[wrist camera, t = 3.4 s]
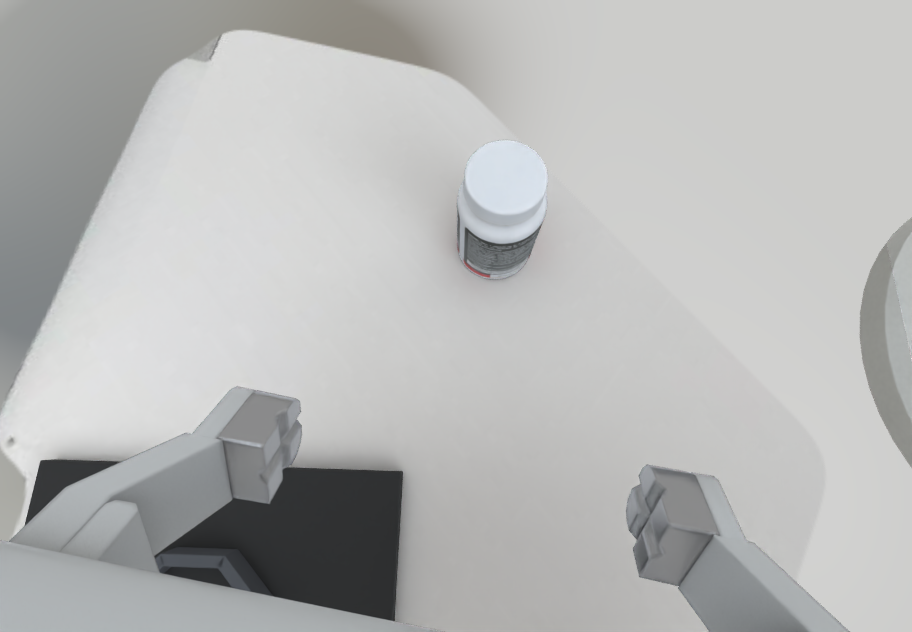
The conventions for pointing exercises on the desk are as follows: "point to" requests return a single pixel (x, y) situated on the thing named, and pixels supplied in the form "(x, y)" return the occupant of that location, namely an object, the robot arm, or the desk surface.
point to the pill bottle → (500, 208)
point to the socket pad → (284, 537)
